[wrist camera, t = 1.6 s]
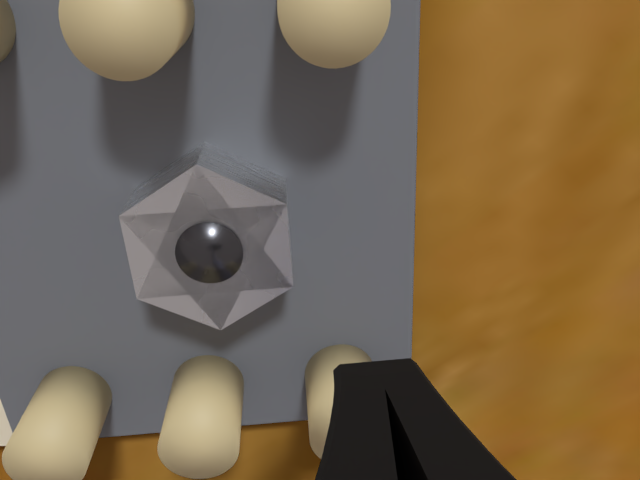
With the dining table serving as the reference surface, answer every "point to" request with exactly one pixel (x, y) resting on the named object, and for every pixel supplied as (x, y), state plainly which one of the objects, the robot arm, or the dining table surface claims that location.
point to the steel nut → (209, 237)
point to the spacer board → (152, 157)
